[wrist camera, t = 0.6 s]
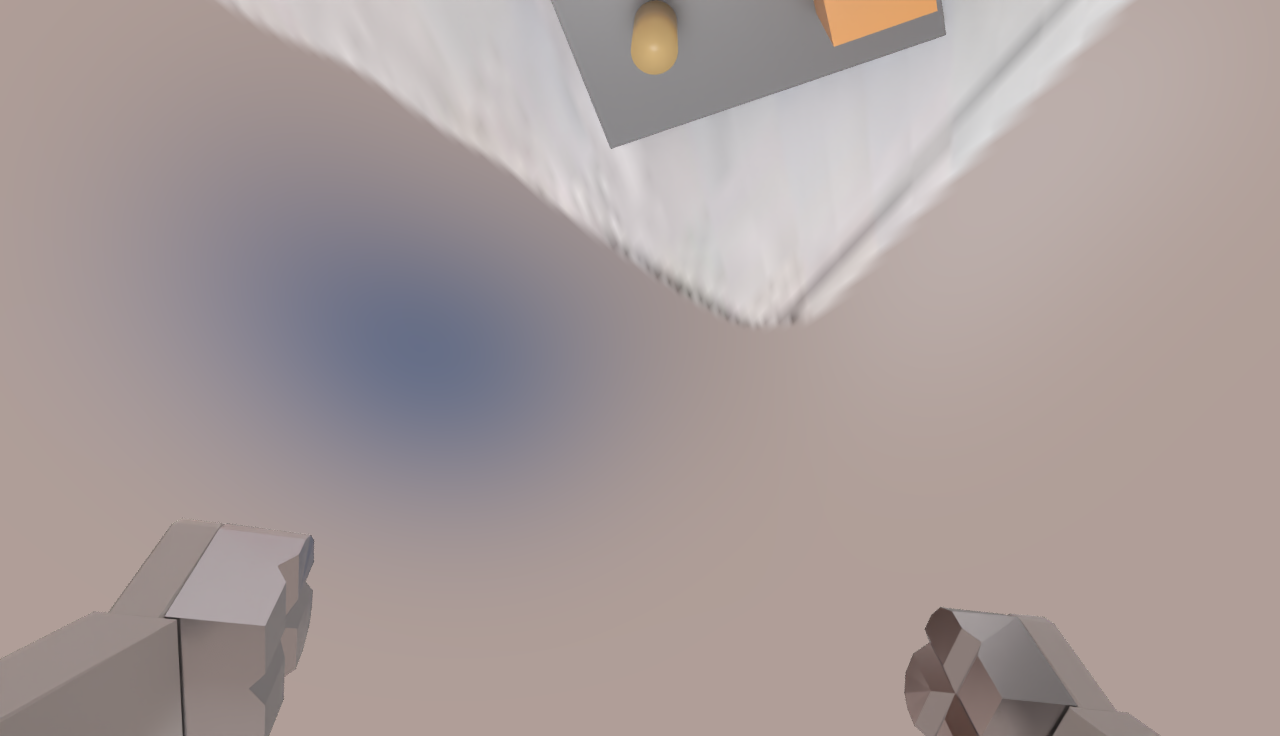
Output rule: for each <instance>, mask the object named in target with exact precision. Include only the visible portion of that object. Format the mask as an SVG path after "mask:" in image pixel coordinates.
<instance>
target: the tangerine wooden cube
mask: <svg viewBox="0 0 1280 736" xmlns="http://www.w3.org/2000/svg"><path fill="white" fill-rule="evenodd" d="M814 5H815V9H816V14H817V16H818V18H819V20H820V21H821V23H822V25H823V27H824V29H825V31H826V33H827V35H828V37H829V39H830V41H831V42H832V44H833V46H834V47H835V46H838V45H841V44H844V43H847V42H849V41H852V40H855V39H858V38H861V37H864V36H867V35H870V34H873V33H875V32H878V31H881V30H884V29H887V28H890V27H893V26H896V25H898V24H901V23H904V22H907V21H910V20H913V19H916V18H919V17H921V16H924V15H927V14H930V13H933V12H936V11H938V10H937V3H936V0H814Z"/></svg>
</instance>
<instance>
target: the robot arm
mask: <svg viewBox="0 0 1280 736" xmlns="http://www.w3.org/2000/svg"><path fill="white" fill-rule="evenodd" d="M313 563H314V539H313V538H312V536H311V535H309V534H301V533H294V532H287V531H279V530H272V529H265V528H258V527H250V526H243V525H236V524H228V523H227V524H222V523H216V522H208V521H201V520H194V519H186V518H182V519H180V520H178V521H176V522H175V523H173V524H172V525H171V526H170V527H169V529H168V530H167V531H166V533H165V534H164V536H163V537H162V538H161V540H160V541H159V543H158V544H157V545H156V547H155V548H154V550H153V551H152V552H151V554H150V555H149V557H148V558H147V559H146V561H145V562H144V563H143V565H142V566H141V568H140V569H139V570H138V572H137V573H136V575H135V576H134V577H133V579H132V580H131V582H130V583H129V584H128V586H127V587H126V589H125V590H124V591H123V593H122V594H121V596H120V597H119V598H118V600H117V601H116V602H115V604H114V605H113V607H112V608H111V609H110V611H109V612H108V613H106V612H92V613H90V614H88V615H86V616H84V617H82V618H80V619H78V620H76V621H74V622H72V623H70V624H68V625H66V626H64V627H62V628H60V629H58V630H56V631H54V632H52V633H50V634H48V635H46V636H44V637H42V638H40V639H39V640H37V641H35V642H33V643H31V644H29V645H27V646H25V647H23V648H21V649H19V650H17V651H15V652H13V653H11V654H9V655H7V656H5V657H3V658H1V659H0V736H269V735H270V732H271V730H272V727H273V725H274V722H275V720H276V717H277V715H278V712H279V710H280V707H281V705H282V702H283V700H284V677H285V676H286V675H288V674H289V673H291V672H292V671H293V670H295V669H296V667H297V664H298V662H299V659H300V656H301V654H302V651H303V648H304V643H305V640H306V636H307V632H308V628H309V623H310V617H311V610H312V594H313V590H312V589H311V588H310V586H309V585H308V584H307V583H306V579H307V577H308V575H309V572H310V570H311V567H312V565H313ZM925 631H926V634H927V636H928V639H929V643H928V644H926V645H925V646H924V647H922V648H921V649H919V650H918V651H916V652H915V653H914V654H913V656H912V658H911V661H910V663H909V666H908V668H907V670H906V675H905V692H904V693H905V698H906V704H907V708H908V711H909V714H910V716H911V719H912V721H913V723H914V726H915V727H917V728H918V729H919V730H920V731H921V732H922V733H923V734H924V735H925V736H1160V735H1159V734H1158V733H1156V732H1155V731H1153V730H1152V729H1150V728H1149V727H1148V726H1146V725H1145V724H1143V723H1142V722H1141V721H1139V720H1138V719H1136V718H1135V717H1133V716H1132V715H1130V714H1129V713H1127V712H1118V711H1117V710H1116V709H1115V708H1114V706H1113V705H1112V703H1111V702H1110V701H1109V699H1108V698H1107V696H1106V695H1105V694H1104V692H1103V691H1102V689H1101V688H1100V687H1099V685H1098V684H1097V682H1096V681H1095V680H1094V678H1093V677H1092V676H1091V674H1090V673H1089V671H1088V670H1087V669H1086V667H1085V666H1084V664H1083V663H1082V662H1081V660H1080V659H1079V657H1078V656H1077V655H1076V653H1075V652H1074V650H1073V649H1072V648H1071V646H1070V645H1069V644H1068V642H1067V641H1066V639H1065V638H1064V637H1063V635H1062V634H1061V632H1060V631H1059V630H1058V628H1057V627H1056V625H1055V624H1054V623H1052V622H1051V621H1049V620H1048V619H1046V618H1045V617H1039V616H1028V615H1017V614H1008V615H1005V614H998V613H988V612H980V611H970V610H961V609H952V608H942V607H940V608H939V609H938V610H936V611H935V612H934V613H933V614H932V615H931V617H930V619H929V621H928V623H927V625H926V627H925Z"/></svg>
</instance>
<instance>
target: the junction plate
mask: <svg viewBox="0 0 1280 736" xmlns="http://www.w3.org/2000/svg"><path fill="white" fill-rule="evenodd" d="M551 1H552V4H553V6H554V9H555V11H556V14H557V16H558V19H559V21H560V24H561V26H562V29H563V31H564V34H565V36H566V39H567V41H568V44H569V46H570V49H571V51H572V54H573V56H574V58H575V61H576V63H577V66H578V68H579V71H580V73H581V76H582V78H583V81H584V83H585V86H586V88H587V91H588V93H589V96H590V98H591V101H592V103H593V106H594V108H595V111H596V113H597V116H598V118H599V121H600V123H601V126H602V128H603V131H604V133H605V136H606V138H607V140H608V143H609V145H610V148H611V149H612V148H615V147H618V146H621V145H624V144H627V143H630V142H633V141H635V140H638V139H641V138H644V137H647V136H650V135H653V134H656V133H659V132H662V131H665V130H668V129H671V128H674V127H677V126H680V125H683V124H686V123H688V122H691V121H694V120H697V119H700V118H703V117H706V116H709V115H712V114H715V113H718V112H721V111H724V110H727V109H730V108H733V107H736V106H739V105H741V104H744V103H747V102H750V101H753V100H756V99H759V98H762V97H765V96H768V95H771V94H774V93H777V92H780V91H783V90H786V89H789V88H791V87H794V86H797V85H800V84H803V83H806V82H809V81H812V80H815V79H818V78H821V77H824V76H827V75H830V74H833V73H836V72H839V71H842V70H844V69H847V68H850V67H853V66H856V65H859V64H862V63H865V62H868V61H871V60H874V59H877V58H880V57H883V56H886V55H889V54H892V53H894V52H897V51H900V50H903V49H906V48H909V47H912V46H915V45H918V44H921V43H924V42H927V41H930V40H933V39H936V38H939V37H942V36H945V35H946V31H945V23H944V16H943V9H942V1H941V0H936V3H937V10H938V11H936V12H933V13H930V14H927V15H924V16H921V17H919V18H916V19H913V20H910V21H907V22H904V23H901V24H898V25H896V26H893V27H890V28H887V29H884V30H881V31H878V32H875V33H873V34H870V35H867V36H864V37H861V38H858V39H855V40H852V41H849V42H847V43H844V44H841V45H838V46H835V47H834V46H833V44H832V42H831V41H830V39H829V37H828V35H827V33H826V31H825V29H824V27H823V25H822V23H821V21H820V20H819V18H818V16H817V14H816V9H815V5H814V0H551Z"/></svg>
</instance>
